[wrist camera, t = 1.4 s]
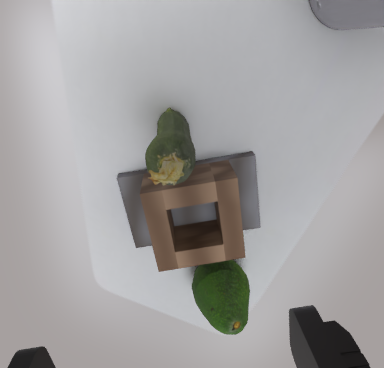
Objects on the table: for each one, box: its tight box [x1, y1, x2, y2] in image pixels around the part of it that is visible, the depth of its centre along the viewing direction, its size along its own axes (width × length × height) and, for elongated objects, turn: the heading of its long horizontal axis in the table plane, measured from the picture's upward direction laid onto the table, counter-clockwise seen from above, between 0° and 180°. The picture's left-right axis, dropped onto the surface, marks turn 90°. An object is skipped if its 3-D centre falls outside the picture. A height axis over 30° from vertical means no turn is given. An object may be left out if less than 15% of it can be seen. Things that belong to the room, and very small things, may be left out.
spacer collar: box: [117, 152, 260, 272], centre depth 41 cm, size 18×11×8 cm, turn 99°
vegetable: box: [145, 108, 195, 186], centre depth 30 cm, size 4×4×20 cm
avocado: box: [192, 260, 250, 334], centre depth 43 cm, size 8×8×12 cm
